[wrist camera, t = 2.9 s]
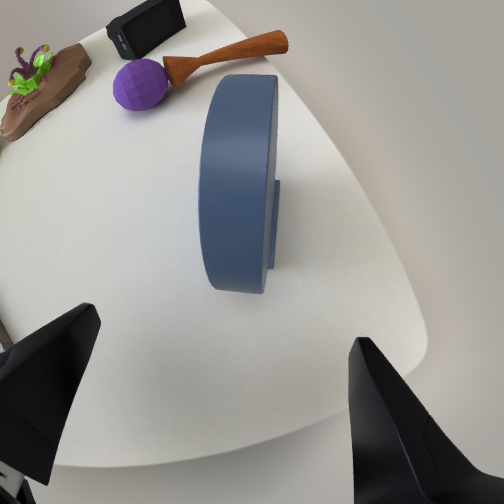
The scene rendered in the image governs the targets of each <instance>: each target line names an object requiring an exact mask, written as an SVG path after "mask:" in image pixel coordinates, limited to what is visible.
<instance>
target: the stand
mask: <svg viewBox="0 0 504 504" xmlns="http://www.w3.org/2000/svg"><path fill="white" fill-rule="evenodd" d="M11 346H14V345H13V344H12V342H11V340H10V338H9V336H8V334H7V332H6V330H5V328H4V326H3V324H2V322H1V320H0V353H2V352H3V351H5V350H6V349H8V348H9V347H11Z"/></svg>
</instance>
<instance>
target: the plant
mask: <svg viewBox="0 0 504 504" xmlns="http://www.w3.org/2000/svg"><path fill="white" fill-rule="evenodd" d="M23 50H24V49H23V48H22V47H19V48H17V49H16V51H15V54H16V58H17V61H18V62H19V64H20V66H21V67H22V69H21V68H15V69H14V70H12V72H11V75H10V78H9V82H8V84H9V86H12V87H16V86H18V88H17V89H16V90H13V91H12V92H11V93H10V94H9V95H12V96H11V98H10V99H9V101H8V104H7V109H6V113H5V115H4V117H3V119H2V121H1V122H2V124H1V126H0V130H1V131H2V132H3V137H4V138H6V139H7V140H8V141H14V140H16V139H18V138H20V137H21V136H22V135H23V134H24V133H25V132H26V131H27V130H28V129H29V128H30V127H31V126H32V125H33V124H34V123H35V122H36V121H37V120H38V119H39V118H41V117H42V116H43V115H45V114H46V113H47V112H49V111H50V110H51V109H53V108H54V107H56V106H58V105H59V104H61V103H62V101H63V100H64V99H65V98H66V97H68V96H69V95H70V94H71V93H72V92H73V91H74V89H75V88H76V87H77V86H78V85H79V84H80V83H81V82H82V81H83V80H84V79H85V75H84V72H85V70H86V69H87V67H88V66H89V65H90V64H91V60H90V58H89V56H88V54H87V53H86V51H85V49H84V48H83V46H82V45H81V44H80V43H78V44H75V45H73V46H70V47H67V48H64V49H62V50H61V51H59V52H58V53H57V54H55V55H54V56H52V55H53V53H52V54H51V55H50V56H49V57H48V60H47V61H45V60H44V55H39V57H38V58H37V59H36V61H35V64H34V66H33V61H34V57H35V55H36V53H37V52H38V51H39V50H41V51H43V52H47V51H48V50H49V45H42V46H41V47H39V48H38V49H36V50H35V51H34V53H33V54H32V56H31V58H30V62H29V64H28V63H27V62H25V61H24V60H23V58H21V57H20V55H21V54H22V53H23ZM14 72H17V73H19V74H20V75H19V76H18V77H16V78H15V79H14V77H13V74H14ZM15 82H17V83H16V84H15Z"/></svg>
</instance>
